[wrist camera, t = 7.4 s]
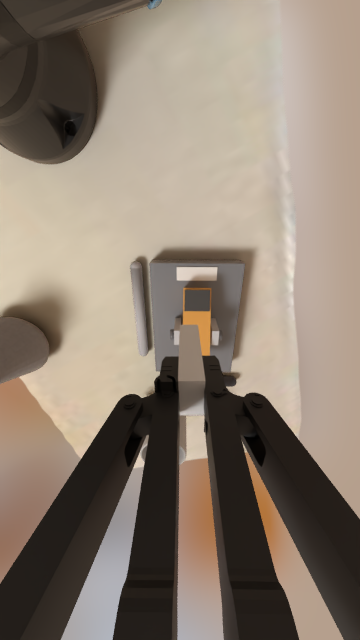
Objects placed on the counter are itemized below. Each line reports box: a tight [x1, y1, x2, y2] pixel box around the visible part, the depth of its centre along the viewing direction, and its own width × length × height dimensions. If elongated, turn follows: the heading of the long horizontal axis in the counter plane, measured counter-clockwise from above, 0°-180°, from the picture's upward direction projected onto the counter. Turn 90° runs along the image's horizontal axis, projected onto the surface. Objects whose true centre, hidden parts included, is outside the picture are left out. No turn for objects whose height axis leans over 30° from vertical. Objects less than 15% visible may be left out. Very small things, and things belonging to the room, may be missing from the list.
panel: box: [149, 260, 245, 372], centre depth 34 cm, size 20×14×8 cm
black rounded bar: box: [223, 376, 236, 386], centre depth 43 cm, size 2×16×2 cm, turn 90°
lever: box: [183, 288, 211, 356], centre depth 32 cm, size 14×4×3 cm, turn 0°
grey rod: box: [130, 261, 148, 356], centre depth 36 cm, size 18×2×2 cm, turn 0°
